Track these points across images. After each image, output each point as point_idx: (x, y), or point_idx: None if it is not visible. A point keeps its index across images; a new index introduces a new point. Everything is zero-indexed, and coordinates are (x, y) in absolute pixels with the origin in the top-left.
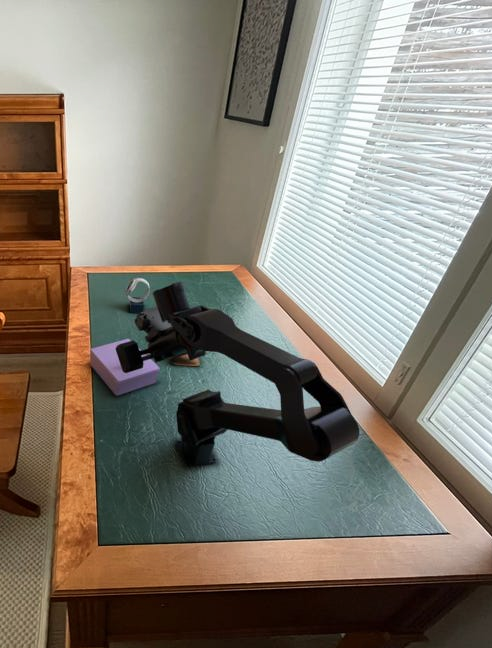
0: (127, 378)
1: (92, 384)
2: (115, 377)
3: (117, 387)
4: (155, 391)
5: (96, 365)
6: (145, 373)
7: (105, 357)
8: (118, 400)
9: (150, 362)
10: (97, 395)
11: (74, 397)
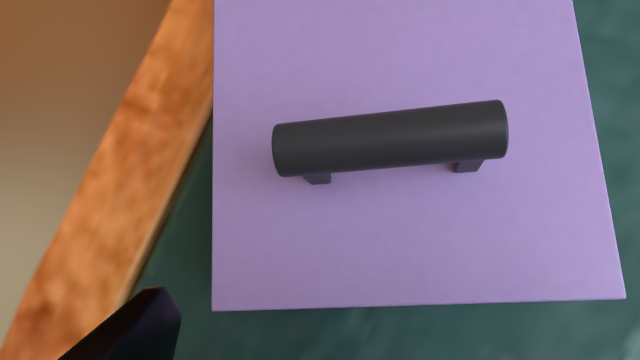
0: (286, 306)
1: (195, 148)
2: (213, 258)
3: None
4: (510, 350)
5: None
6: (458, 303)
7: (259, 22)
8: (256, 324)
9: (574, 190)
10: (178, 239)
11: (77, 209)
